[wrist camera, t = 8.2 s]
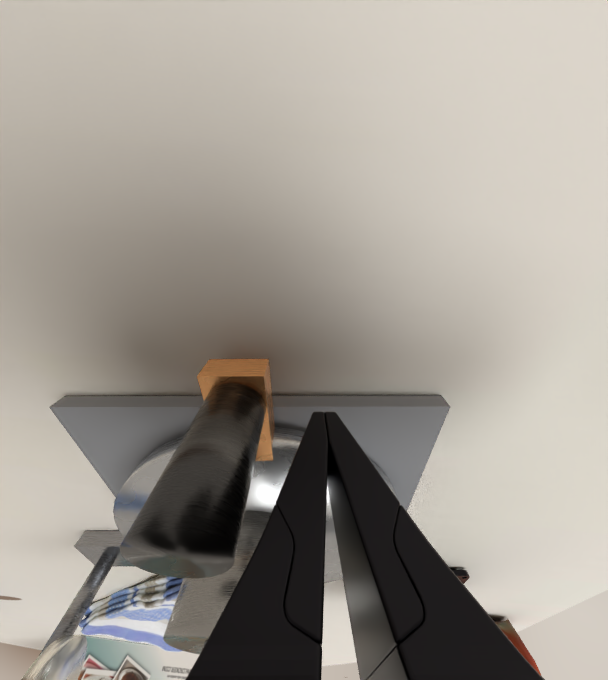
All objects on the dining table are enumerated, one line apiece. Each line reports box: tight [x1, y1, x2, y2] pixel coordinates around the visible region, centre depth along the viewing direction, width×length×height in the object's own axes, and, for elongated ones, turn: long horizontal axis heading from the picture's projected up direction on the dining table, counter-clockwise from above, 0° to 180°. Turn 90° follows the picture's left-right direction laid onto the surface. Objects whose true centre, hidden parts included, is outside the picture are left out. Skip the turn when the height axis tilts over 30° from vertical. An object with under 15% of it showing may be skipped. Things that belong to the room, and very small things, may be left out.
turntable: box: [113, 359, 397, 583], centre depth 12 cm, size 22×18×6 cm
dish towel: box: [79, 575, 184, 652], centre depth 26 cm, size 17×24×3 cm
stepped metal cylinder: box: [163, 510, 271, 655], centre depth 12 cm, size 7×7×6 cm
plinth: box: [50, 395, 450, 511], centre depth 16 cm, size 20×20×1 cm
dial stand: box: [21, 531, 134, 680], centre depth 15 cm, size 4×4×9 cm
